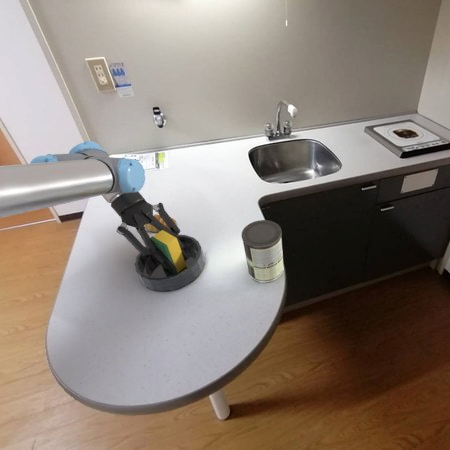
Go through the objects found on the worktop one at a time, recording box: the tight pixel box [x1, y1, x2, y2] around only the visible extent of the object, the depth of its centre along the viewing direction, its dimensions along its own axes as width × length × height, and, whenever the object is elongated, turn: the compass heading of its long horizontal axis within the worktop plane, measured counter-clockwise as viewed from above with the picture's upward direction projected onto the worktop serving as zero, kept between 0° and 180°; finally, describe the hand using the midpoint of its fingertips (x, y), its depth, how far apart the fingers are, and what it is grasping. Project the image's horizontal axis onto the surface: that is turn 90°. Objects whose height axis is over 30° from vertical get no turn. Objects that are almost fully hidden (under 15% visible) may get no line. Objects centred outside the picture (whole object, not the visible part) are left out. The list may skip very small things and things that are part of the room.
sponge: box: [149, 230, 186, 275], centre depth 84 cm, size 4×6×11 cm, turn 56°
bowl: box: [134, 234, 205, 292], centre depth 87 cm, size 18×18×5 cm
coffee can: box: [241, 219, 285, 284], centre depth 83 cm, size 10×10×14 cm
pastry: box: [144, 213, 177, 233], centre depth 101 cm, size 9×7×4 cm
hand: (180, 264), depth 84 cm, fingers closed on sponge, 4 cm apart
